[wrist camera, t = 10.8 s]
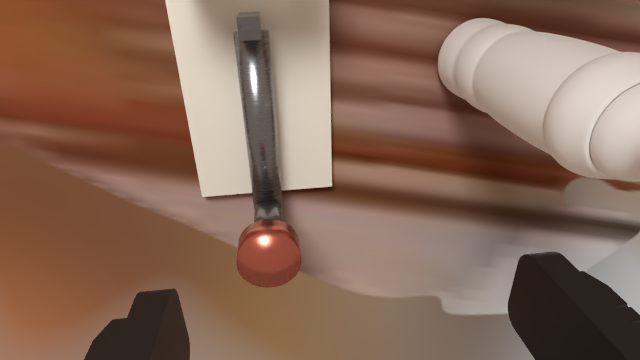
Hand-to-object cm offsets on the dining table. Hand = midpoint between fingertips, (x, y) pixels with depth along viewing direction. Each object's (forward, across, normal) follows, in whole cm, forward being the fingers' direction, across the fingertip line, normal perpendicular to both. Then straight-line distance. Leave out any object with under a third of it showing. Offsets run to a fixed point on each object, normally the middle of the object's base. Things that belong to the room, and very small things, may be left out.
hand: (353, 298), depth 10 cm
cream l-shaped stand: (+30, +3, 0) cm, 30 cm away
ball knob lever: (+29, +3, +6) cm, 29 cm away
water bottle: (+30, -17, +1) cm, 35 cm away
